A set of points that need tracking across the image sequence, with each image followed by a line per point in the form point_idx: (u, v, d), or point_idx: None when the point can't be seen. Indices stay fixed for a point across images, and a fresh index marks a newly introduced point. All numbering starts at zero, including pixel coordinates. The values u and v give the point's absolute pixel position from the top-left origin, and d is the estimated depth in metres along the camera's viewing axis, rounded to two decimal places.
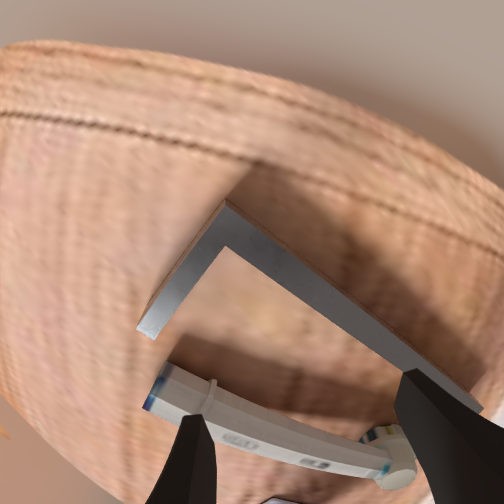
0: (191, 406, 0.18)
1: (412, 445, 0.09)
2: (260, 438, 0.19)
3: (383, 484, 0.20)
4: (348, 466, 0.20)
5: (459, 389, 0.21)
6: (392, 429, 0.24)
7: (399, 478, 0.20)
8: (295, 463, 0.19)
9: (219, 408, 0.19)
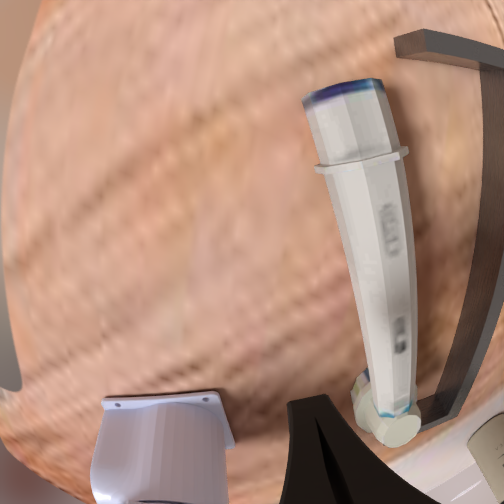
0: (391, 136, 0.13)
1: None
2: (407, 244, 0.14)
3: (391, 427, 0.18)
4: (408, 368, 0.17)
5: (478, 368, 0.21)
6: None
7: (405, 429, 0.18)
8: (391, 318, 0.15)
9: (402, 170, 0.13)
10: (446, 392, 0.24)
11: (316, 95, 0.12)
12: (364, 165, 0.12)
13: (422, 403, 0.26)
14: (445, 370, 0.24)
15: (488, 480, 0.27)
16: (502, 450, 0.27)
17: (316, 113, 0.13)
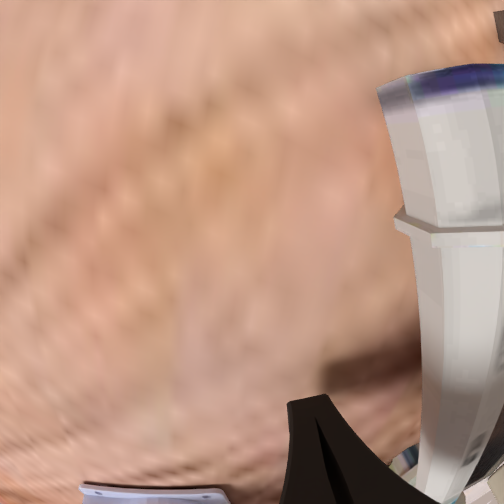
0: None
1: None
2: None
3: None
4: (470, 473, 0.09)
5: None
6: None
7: None
8: (471, 438, 0.08)
9: None
10: (484, 454, 0.17)
11: (423, 82, 0.05)
12: None
13: None
14: None
15: None
16: None
17: (421, 120, 0.06)
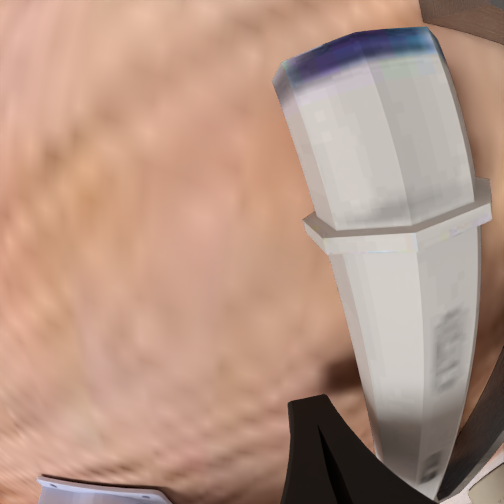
0: (470, 163, 0.05)
1: None
2: (470, 365, 0.07)
3: None
4: (435, 489, 0.09)
5: (492, 455, 0.14)
6: None
7: None
8: (422, 458, 0.08)
9: (479, 230, 0.06)
10: (449, 473, 0.17)
11: (300, 66, 0.05)
12: (421, 242, 0.05)
13: None
14: None
15: None
16: None
17: (302, 109, 0.05)
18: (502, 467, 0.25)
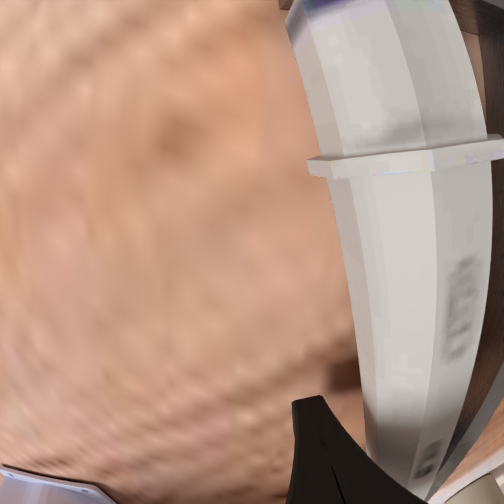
0: None
1: None
2: (480, 334, 0.06)
3: None
4: (428, 487, 0.09)
5: (443, 482, 0.13)
6: None
7: None
8: (421, 446, 0.07)
9: None
10: None
11: None
12: (437, 161, 0.04)
13: None
14: None
15: None
16: None
17: (315, 34, 0.05)
18: (479, 482, 0.24)
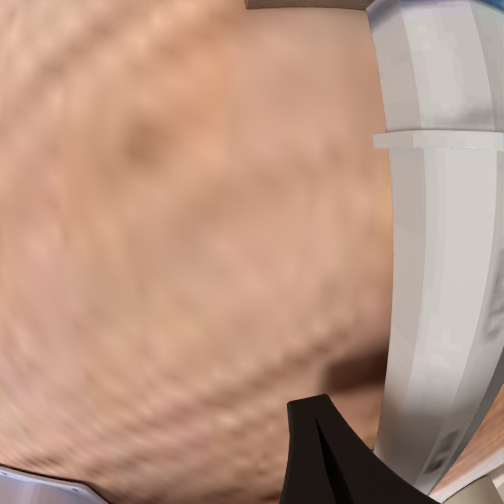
0: None
1: None
2: None
3: None
4: (431, 486, 0.09)
5: (434, 486, 0.13)
6: None
7: None
8: (442, 434, 0.07)
9: None
10: None
11: None
12: None
13: None
14: None
15: None
16: None
17: (407, 21, 0.05)
18: (476, 484, 0.24)
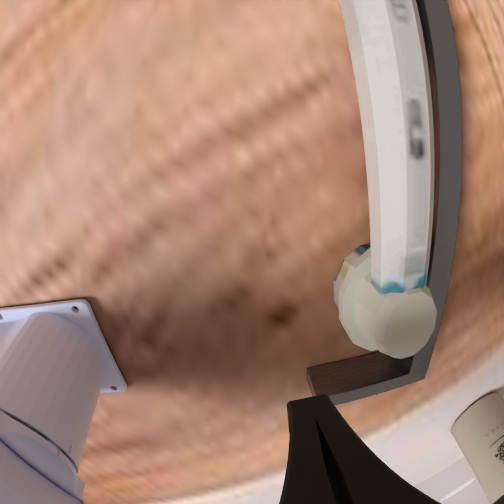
0: None
1: None
2: (416, 20, 0.10)
3: (399, 309, 0.14)
4: (427, 195, 0.12)
5: (444, 300, 0.17)
6: None
7: (416, 323, 0.14)
8: (404, 95, 0.11)
9: None
10: None
11: None
12: None
13: (374, 357, 0.22)
14: None
15: (477, 475, 0.23)
16: (494, 437, 0.23)
17: None
18: (486, 397, 0.28)
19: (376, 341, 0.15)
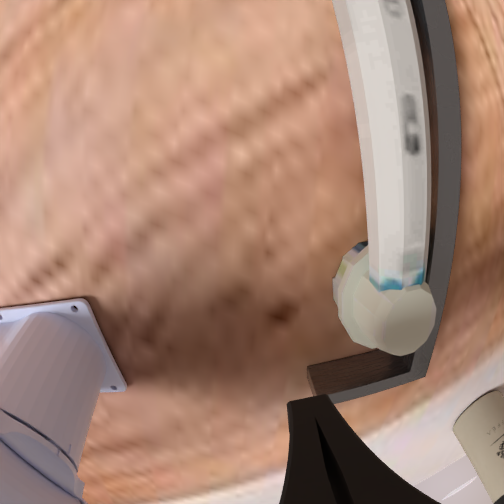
0: None
1: None
2: (409, 15, 0.10)
3: (398, 306, 0.14)
4: (424, 191, 0.12)
5: (444, 298, 0.17)
6: None
7: (415, 320, 0.14)
8: (398, 90, 0.11)
9: None
10: None
11: None
12: None
13: (374, 355, 0.22)
14: None
15: (479, 473, 0.23)
16: (496, 435, 0.23)
17: None
18: (488, 395, 0.28)
19: (375, 339, 0.15)
